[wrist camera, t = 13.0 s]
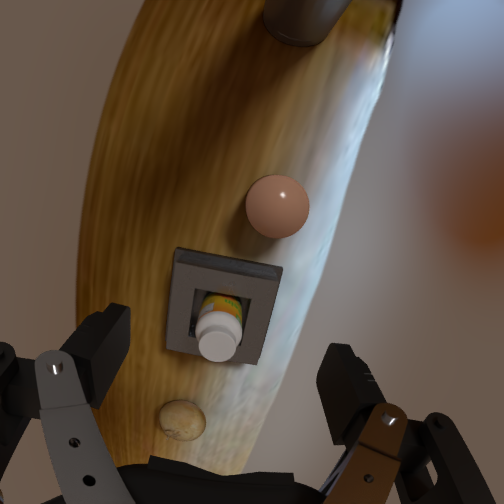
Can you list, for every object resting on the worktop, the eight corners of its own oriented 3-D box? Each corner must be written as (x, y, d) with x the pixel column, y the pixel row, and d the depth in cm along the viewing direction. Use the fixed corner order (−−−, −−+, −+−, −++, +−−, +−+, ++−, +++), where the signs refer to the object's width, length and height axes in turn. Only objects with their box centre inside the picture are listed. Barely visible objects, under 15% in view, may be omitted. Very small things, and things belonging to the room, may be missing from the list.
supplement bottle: (249, 309, 40) (253, 350, 30) (219, 331, 41) (215, 374, 31) (223, 281, 38) (219, 316, 29) (193, 304, 39) (181, 344, 30)
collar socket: (177, 246, 38) (170, 255, 34) (282, 266, 39) (286, 277, 36) (166, 337, 42) (160, 351, 38) (259, 354, 43) (260, 369, 39)
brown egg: (251, 169, 36) (253, 169, 31) (306, 181, 37) (315, 183, 32) (240, 223, 38) (240, 231, 33) (293, 234, 38) (301, 243, 34)
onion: (190, 388, 45) (184, 418, 38) (215, 416, 47) (213, 446, 40) (153, 400, 45) (144, 428, 38) (179, 427, 47) (174, 455, 40)
